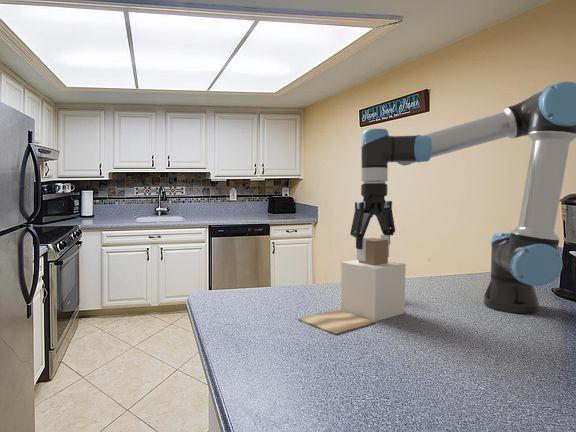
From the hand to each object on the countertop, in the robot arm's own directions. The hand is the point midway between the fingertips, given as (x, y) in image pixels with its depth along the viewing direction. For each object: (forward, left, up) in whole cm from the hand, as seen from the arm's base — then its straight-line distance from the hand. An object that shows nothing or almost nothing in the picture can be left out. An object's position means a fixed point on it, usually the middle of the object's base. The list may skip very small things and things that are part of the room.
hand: (373, 258), depth 122 cm
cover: (0, 0, -16) cm, 16 cm away
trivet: (0, +15, -16) cm, 22 cm away
